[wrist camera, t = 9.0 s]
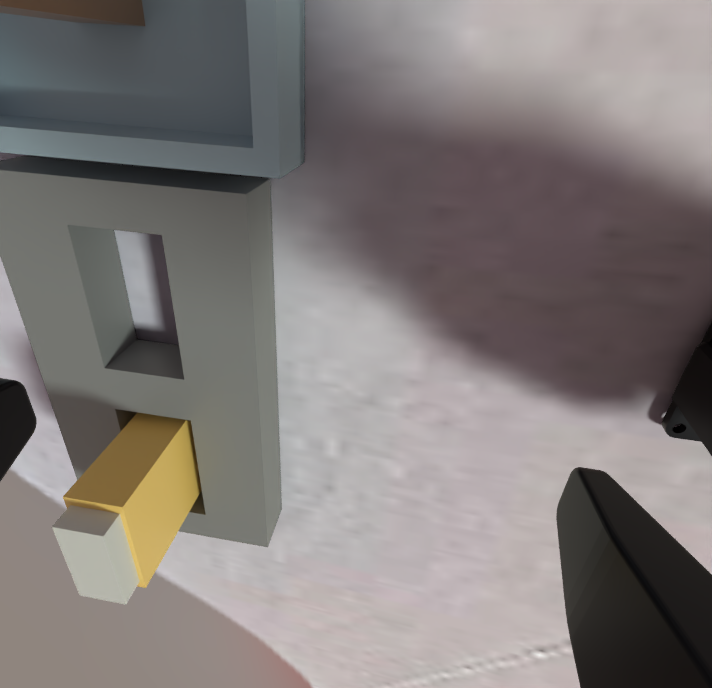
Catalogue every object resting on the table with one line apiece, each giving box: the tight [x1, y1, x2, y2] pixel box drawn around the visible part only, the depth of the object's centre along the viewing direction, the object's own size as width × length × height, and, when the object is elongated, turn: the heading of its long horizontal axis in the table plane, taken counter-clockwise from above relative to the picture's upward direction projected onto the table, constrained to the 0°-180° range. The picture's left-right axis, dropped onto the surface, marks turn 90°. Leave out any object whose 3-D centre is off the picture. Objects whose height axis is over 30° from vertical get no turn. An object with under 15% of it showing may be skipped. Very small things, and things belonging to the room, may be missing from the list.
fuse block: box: [0, 156, 282, 547], centre depth 22 cm, size 10×18×2 cm, turn 177°
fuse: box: [52, 413, 202, 604], centre depth 21 cm, size 2×5×8 cm, turn 177°
